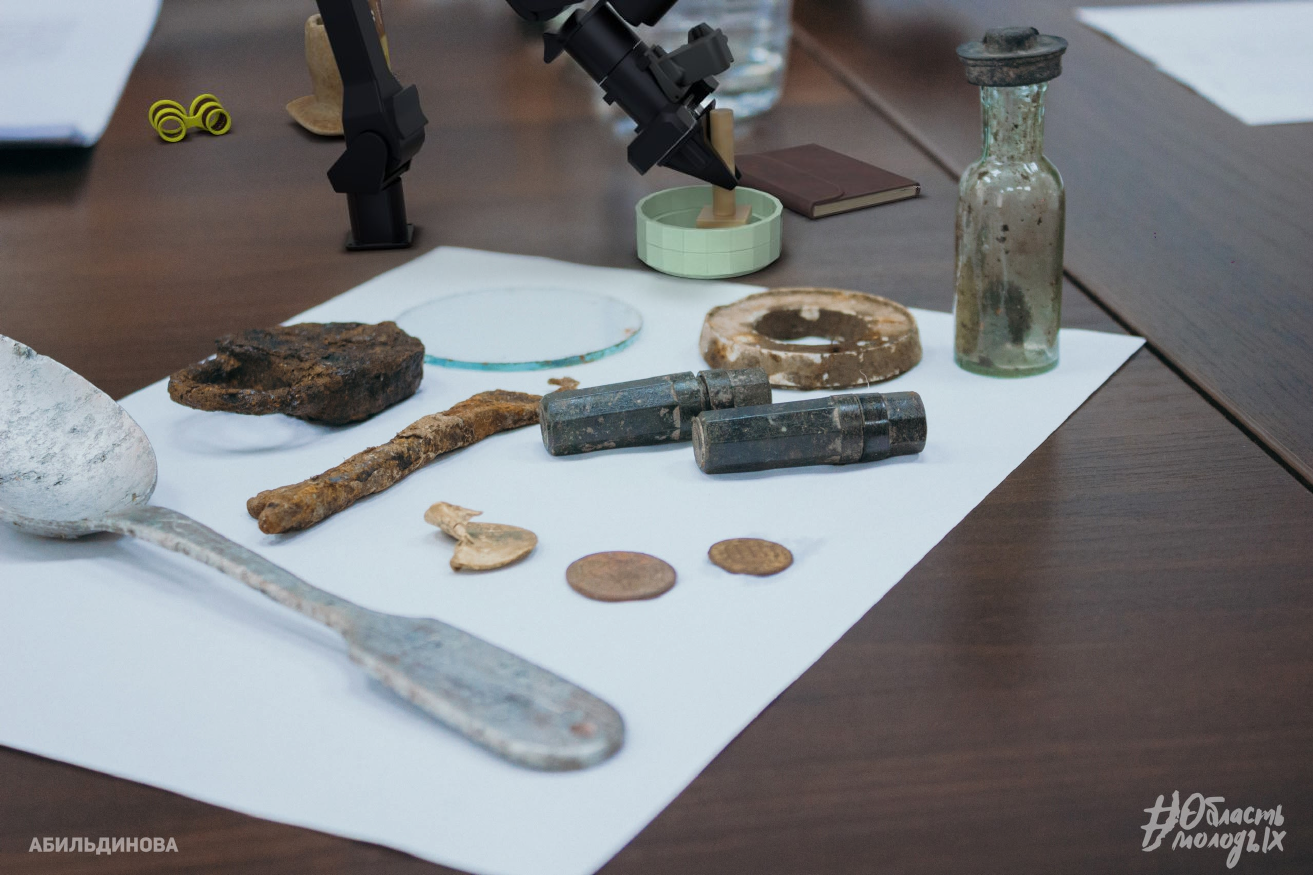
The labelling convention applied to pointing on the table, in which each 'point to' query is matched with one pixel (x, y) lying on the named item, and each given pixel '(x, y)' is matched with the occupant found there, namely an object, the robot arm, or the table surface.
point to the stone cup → (320, 84)
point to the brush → (724, 201)
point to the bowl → (706, 234)
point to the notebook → (821, 180)
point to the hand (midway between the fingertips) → (737, 183)
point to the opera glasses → (198, 117)
